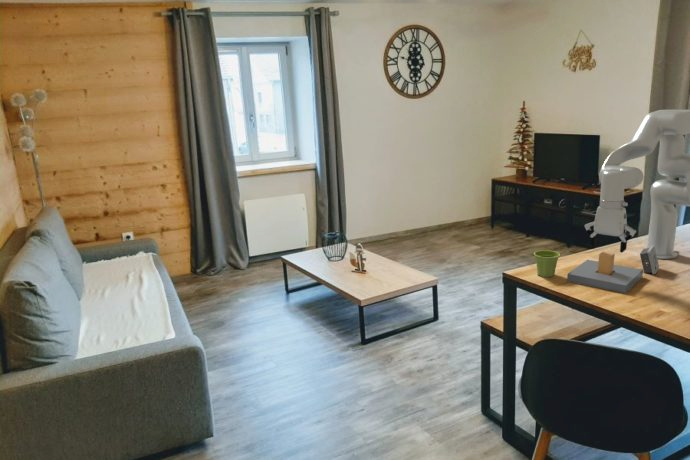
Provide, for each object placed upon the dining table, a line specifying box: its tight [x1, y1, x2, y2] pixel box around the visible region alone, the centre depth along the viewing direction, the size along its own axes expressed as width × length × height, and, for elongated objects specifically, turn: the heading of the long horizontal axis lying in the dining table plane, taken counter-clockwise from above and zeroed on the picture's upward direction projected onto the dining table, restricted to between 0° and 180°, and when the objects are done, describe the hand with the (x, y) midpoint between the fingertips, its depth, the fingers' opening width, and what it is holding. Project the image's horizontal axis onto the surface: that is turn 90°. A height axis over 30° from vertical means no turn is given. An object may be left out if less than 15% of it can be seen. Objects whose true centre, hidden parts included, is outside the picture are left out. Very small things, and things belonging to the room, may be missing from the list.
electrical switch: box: [639, 246, 660, 276], centre depth 199 cm, size 9×5×9 cm, turn 141°
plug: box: [597, 251, 615, 275], centre depth 192 cm, size 4×4×10 cm
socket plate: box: [566, 259, 644, 294], centre depth 193 cm, size 20×20×3 cm
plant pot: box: [533, 249, 561, 278], centre depth 199 cm, size 9×9×9 cm
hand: (608, 249), depth 191 cm, fingers open, 9 cm apart
